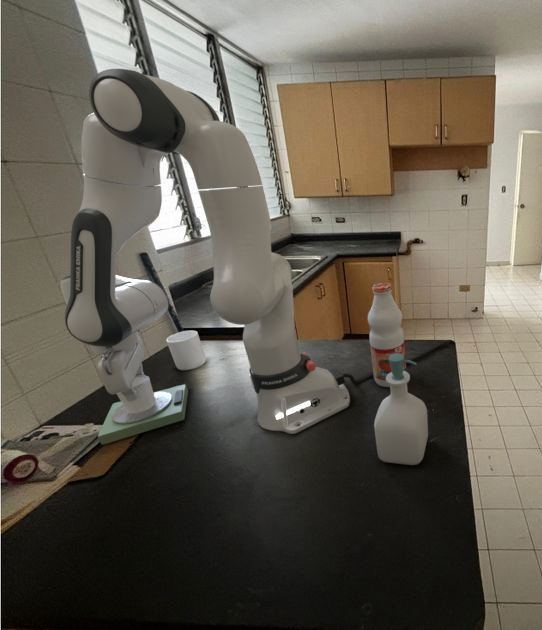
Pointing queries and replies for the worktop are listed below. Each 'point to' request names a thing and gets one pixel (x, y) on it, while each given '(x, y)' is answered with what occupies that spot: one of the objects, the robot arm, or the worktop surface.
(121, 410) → the scale pan
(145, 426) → the scale
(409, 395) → the soap bottle
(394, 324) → the fruit juice
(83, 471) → the worktop surface
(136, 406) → the white cylindrical container
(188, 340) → the cup
